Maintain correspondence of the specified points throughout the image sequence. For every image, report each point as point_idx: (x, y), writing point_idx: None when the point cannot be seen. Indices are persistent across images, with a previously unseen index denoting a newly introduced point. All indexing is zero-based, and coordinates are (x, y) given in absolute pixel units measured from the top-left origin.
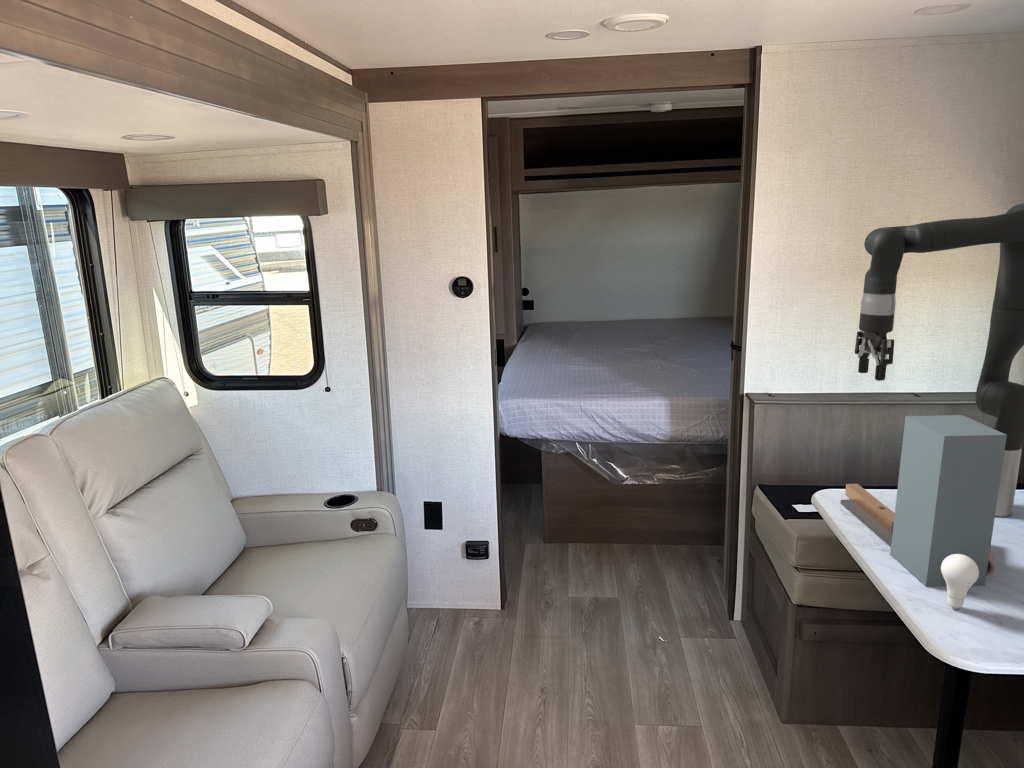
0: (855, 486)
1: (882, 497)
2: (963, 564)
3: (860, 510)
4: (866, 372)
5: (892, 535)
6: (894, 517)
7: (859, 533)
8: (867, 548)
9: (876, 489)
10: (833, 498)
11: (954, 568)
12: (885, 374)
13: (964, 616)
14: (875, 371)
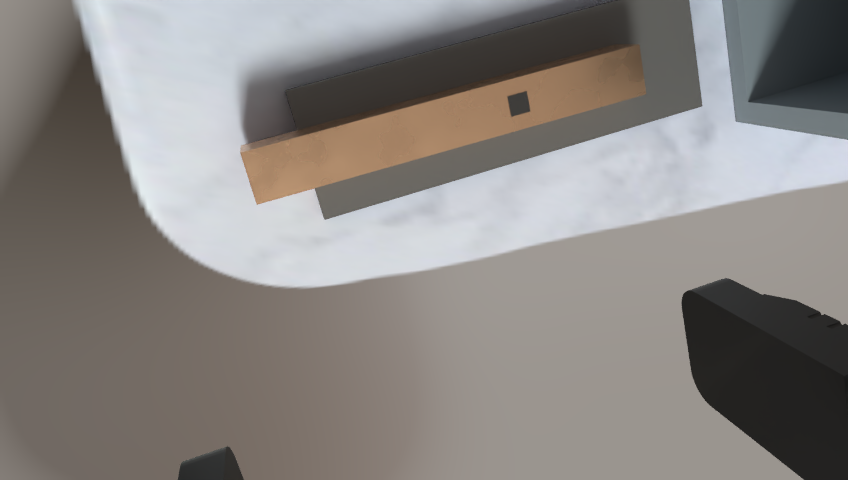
0: (282, 168)
1: (201, 23)
2: None
3: (426, 159)
4: (232, 458)
5: (783, 128)
6: (834, 136)
7: (593, 187)
8: (698, 181)
9: (93, 27)
10: (271, 236)
11: None
12: (768, 299)
13: None
14: (779, 455)
